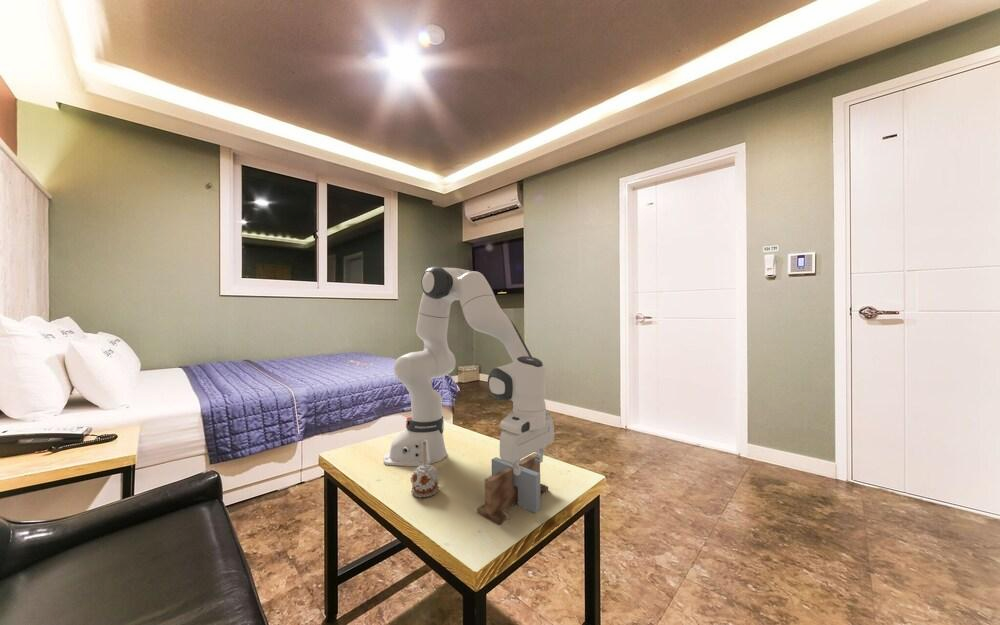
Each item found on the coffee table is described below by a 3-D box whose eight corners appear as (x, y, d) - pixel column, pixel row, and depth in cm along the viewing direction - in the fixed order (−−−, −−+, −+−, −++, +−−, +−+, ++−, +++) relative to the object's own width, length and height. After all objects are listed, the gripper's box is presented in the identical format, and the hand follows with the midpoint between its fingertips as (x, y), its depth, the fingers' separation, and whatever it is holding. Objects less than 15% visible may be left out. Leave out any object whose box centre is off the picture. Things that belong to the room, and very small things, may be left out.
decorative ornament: (406, 496, 103) (405, 445, 103) (421, 483, 111) (420, 435, 110) (429, 501, 101) (429, 448, 100) (443, 488, 108) (442, 438, 108)
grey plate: (540, 510, 96) (540, 473, 96) (536, 513, 94) (535, 476, 94) (496, 490, 106) (496, 457, 106) (491, 493, 105) (491, 459, 105)
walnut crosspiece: (499, 524, 89) (499, 485, 89) (477, 512, 95) (476, 475, 95) (548, 490, 106) (548, 457, 106) (526, 482, 111) (526, 450, 111)
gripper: (541, 407, 106) (541, 452, 107) (495, 424, 91) (495, 477, 91) (559, 411, 102) (559, 459, 102) (514, 430, 87) (514, 486, 87)
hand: (528, 467), depth 97 cm, fingers open, 8 cm apart
